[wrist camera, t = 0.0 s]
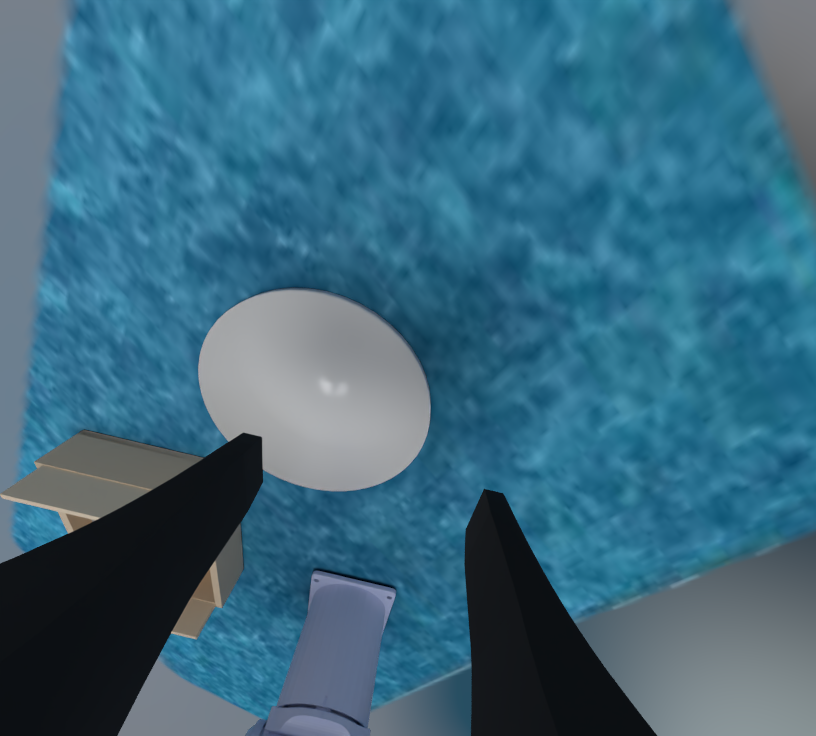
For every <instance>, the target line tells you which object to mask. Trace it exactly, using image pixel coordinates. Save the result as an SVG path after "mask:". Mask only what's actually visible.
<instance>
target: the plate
mask: <svg viewBox="0 0 816 736" xmlns="http://www.w3.org/2000/svg"><path fill="white" fill-rule="evenodd" d="M198 371H199V384H200V389H201V394H202V397H203V400H204V402H205V405H206V408H207V410H208V412H209V414H210V416H211V418H212V420H213V421H214V423H215V424H216V426H217V427H218V429H219V430H220V432H221V433H222V434H223V435H224V437H225V438H226V439H227V440H228V441H231V440H232V439H234V438H235V437H237V436H239V435H240V434H242V433H248V434H252V435H256V436H260V437H262V459H263V470H265V471H266V472H268V473H270V474H272V475H274V476H276V477H278V478H280V479H282V480H285V481H288V482H290V483H293V484H296V485H300V486H303V487H307V488H312V489H317V490H326V491H351V490H359V489H364V488H369V487H372V486H375V485H378V484H381V483H383V482H385V481H387V480H389V479H391V478H393V477H394V476H396V475H397V474H399V473H400V472H402V471H403V470H404V469H405V468H406V467H407V466H408V465H409V464H410V463H411V462H412V461H413V460H414V458H415V457H416V456H417V455H418V453H419V451H420V449H421V448H422V446H423V444H424V441H425V439H426V436H427V433H428V428H429V423H430V413H431V398H430V389H429V385H428V381H427V378H426V374H425V372H424V370H423V367H422V365H421V363H420V361H419V359H418V357H417V356H416V354H415V352H414V351H413V349H412V347H411V346H410V345H409V344H408V342H407V341H406V340H405V339H404V337H403V336H402V335H401V334H400V333H399V332H398V331H397V330H396V329H395V328H394V327H393V326H392V325H391V324H390V323H389V322H387V321H386V320H385V319H383V318H382V317H381V316H379V315H378V314H377V313H376V312H374V311H372V310H370V309H369V308H367V307H365V306H364V305H362V304H360V303H358V302H356V301H353V300H351V299H349V298H347V297H344V296H341V295H338V294H335V293H331V292H328V291H323V290H317V289H311V288H283V289H275V290H271V291H267V292H263V293H260V294H258V295H255V296H253V297H251V298H248V299H246V300H244V301H242V302H241V303H239V304H237V305H236V306H234V307H233V308H231V309H230V310H228V311H227V312H226V313H225V314H223V315H222V316H221V317H220V318H219V319H218V320H217V321H216V323H215V324H214V325H213V327H212V328H211V329H210V331H209V332H208V334H207V336H206V338H205V340H204V343H203V346H202V349H201V353H200V358H199V367H198Z"/></svg>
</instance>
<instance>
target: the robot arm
mask: <svg viewBox="0 0 816 736" xmlns="http://www.w3.org/2000/svg"><path fill="white" fill-rule="evenodd" d="M262 483H263V459H262V437H260V436H256V435H252V434H248V433H242V434H240V435H239V436H237V437H235V438H234V439H232V440H231V441H229V442H228V443H226V444H225V445H223V446H222V447H220V448H219V449H217V450H215V451H214V452H212V453H211V454H209V455H208V456H206V457H205V458H203V459H202V460H200V461H199V462H197V463H195V464H194V465H192V466H191V467H189V468H187V469H186V470H184V471H183V472H181V473H179V474H178V475H176V476H175V477H173V478H171V479H170V480H168V481H166V482H165V483H163V484H161V485H159V486H158V487H156V488H154V489H153V490H151V491H149V492H147V493H146V494H144V495H142V496H140V497H139V498H137V499H135V500H133V501H132V502H130V503H128V504H126V505H124V506H122V507H121V508H119V509H117V510H115V511H113V512H111V513H109V514H107V515H105V516H103V517H101V518H99V519H97V520H95V521H93V522H91V523H89V524H87V525H85V526H83V527H81V528H79V529H77V530H75V531H73V532H71V533H69V534H66V535H64V536H62V537H60V538H57V539H55V540H53V541H51V542H49V543H46V544H44V545H42V546H40V547H37V548H35V549H33V550H31V551H28V552H26V553H24V554H22V555H20V556H17V557H15V558H13V559H10V560H8V561H5V562H3V563H1V564H0V736H117V735H118V733H119V731H120V729H121V727H122V725H123V723H124V721H125V719H126V717H127V716H128V714H129V712H130V710H131V708H132V705H133V704H134V702H135V700H136V698H137V696H138V694H139V692H140V690H141V688H142V686H143V684H144V682H145V680H146V679H147V677H148V675H149V673H150V671H151V669H152V667H153V666H154V664H155V662H156V660H157V658H158V656H159V654H160V652H161V651H162V649H163V647H164V645H165V643H166V641H167V639H168V638H169V636H170V634H171V632H172V630H173V629H174V627H175V625H176V623H177V621H178V620H179V618H180V616H181V614H182V612H183V611H184V609H185V607H186V605H187V604H188V602H189V600H190V598H191V597H192V595H193V594H194V592H195V590H196V589H197V587H198V586H199V584H200V582H201V581H202V579H203V578H204V576H205V575H206V573H207V572H208V570H209V569H210V567H211V566H212V565H213V563H214V562H215V560H216V559H217V557H218V556H219V554H220V553H221V551H222V550H223V548H224V547H225V545H226V544H227V542H228V541H229V539H230V538H231V536H232V535H233V533H234V532H235V530H236V529H237V527H238V526H239V524H240V523H241V521H242V520H243V518H244V516H245V515H246V513H247V512H248V510H249V508H250V506H251V504H252V502H253V500H254V498H255V497H256V495H257V493H258V491H259V489H260V487H261V485H262ZM465 576H466V590H467V604H468V616H469V629H470V642H471V662H472V715H471V716H472V717H471V719H472V720H471V736H657V735H656V734H655V733H654V731H653V730H652V728H651V727H650V726H649V725H648V723H647V722H646V721H645V720H644V718H643V717H642V716H641V714H640V713H639V712H638V711H637V709H636V708H635V707H634V705H633V704H632V703H631V701H630V700H629V699H628V697H627V696H626V695H625V693H624V692H623V691H622V690H621V688H620V687H619V686H618V684H617V683H616V682H615V680H614V679H613V678H612V676H611V675H610V674H609V673H608V671H607V670H606V668H605V667H604V666H603V664H602V663H601V661H600V660H599V658H598V657H597V656H596V654H595V653H594V651H593V650H592V648H591V647H590V646H589V644H588V643H587V641H586V640H585V638H584V637H583V635H582V634H581V632H580V631H579V629H578V628H577V626H576V625H575V623H574V621H573V620H572V618H571V617H570V615H569V614H568V612H567V610H566V609H565V607H564V606H563V604H562V602H561V601H560V599H559V597H558V596H557V594H556V592H555V591H554V589H553V587H552V586H551V584H550V582H549V580H548V579H547V577H546V575H545V573H544V572H543V570H542V568H541V566H540V564H539V562H538V561H537V559H536V557H535V555H534V553H533V551H532V550H531V548H530V546H529V544H528V542H527V540H526V538H525V536H524V534H523V532H522V530H521V528H520V526H519V524H518V522H517V520H516V518H515V516H514V514H513V512H512V510H511V508H510V506H509V504H508V502H507V500H506V498H505V496H504V494H503V493H499V492H495V491H491V490H486V489H484V490H483V493H482V495H481V497H480V499H479V501H478V504H477V506H476V508H475V510H474V512H473V515H472V517H471V519H470V521H469V524H468V526H467V528H466V536H465ZM395 596H396V590H395V589H393V588H390V587H385V586H381V585H377V584H373V583H368V582H364V581H360V580H356V579H352V578H347V577H343V576H339V575H335V574H330V573H326V572H322V571H314V572H313V574H312V577H311V587H310V596H309V605H308V614H307V617H306V620H305V623H304V626H303V629H302V632H301V635H300V638H299V641H298V644H297V647H296V650H295V653H294V656H293V659H292V662H291V665H290V668H289V671H288V674H287V677H286V679H285V682H284V685H283V688H282V691H281V694H280V697H279V700H278V703H277V706H273V707H272V708H271V711H270V714H269V717H268V720H263V719H260V720H258V722H257V723H256V724H255V725H254V726H253V727H251V728H250V729H249V730H248V732H247V733H246V735H245V736H370V732H371V730H370V729H368V722H369V716H370V709H371V703H372V696H373V690H374V683H375V677H376V670H377V664H378V657H379V651H380V644H381V638H382V634H383V631H384V628H385V625H386V622H387V619H388V616H389V614H390V611H391V608H392V605H393V602H394V599H395Z"/></svg>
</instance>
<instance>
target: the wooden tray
mask: <svg viewBox="0 0 816 736" xmlns="http://www.w3.org/2000/svg"><path fill="white" fill-rule="evenodd" d="M202 459H203V458H202V457H198V456H194V455H189V454H185V453H181V452H177V451H172V450H168V449H164V448H160V447H155V446H151V445H147V444H143V443H138V442H134V441H130V440H126V439H121V438H117V437H113V436H109V435H104V434H100V433H96V432H92V431H87V430H82V431H81V432H79V433H78V434H76V435H75V436H73V437H72V438H70V439H69V440H67V441H65V442H64V443H62V444H61V445H59V446H58V447H56V448H55V449H53V450H52V451H50V452H49V453H47V454H45V455H44V456H42V457H41V458H39V459H38V460H36V461H35V462H34V463H35V465H36V467H37V469H36V470H35V471H33V472H32V473H30V474H29V475H27V476H26V477H25V478H23V479H22V480H20V481H19V482H17V483H16V484H14V485H13V486H11V487H10V488H8V489H7V490H5V491H4V492H2V493H1V494H0V495H1V497H2V498H3V499H7V500H11V501H15V502H20V503H24V504H28V505H32V506H37V507H41V508H45V509H49V510H54V511H58V513H59V515H60V517H61V519H62V521H63V523H64V526H65V528H66V530H67V532H68V534H69V533H71V532H73V531H75V530H77V529H79V528H81V527H83V526H85V525H87V524H89V523H91V522H92V520H97V519H99V518H101V517H103V516H105V515H107V514H109V513H111V512H113V511H115V510H117V509H119V508H121V507H122V506H124V505H126V504H128V503H130V502H132V501H133V500H135V499H137V498H139V497H140V496H142V495H144V494H146V493H147V492H149V491H151V490H153V489H154V488H156V487H158V486H159V485H161V484H163V483H165V482H166V481H168V480H170V479H171V478H173V477H175V476H176V475H178V474H179V473H181V472H183V471H184V470H186V469H187V468H189V467H191V466H192V465H194V464H195V463H197V462H199V461H200V460H202ZM91 519H92V520H91ZM243 569H244V567H243V552H242V538H241V524H239V526H238V527H237V529H236V530H235V532H234V533H233V535H232V536H231V538H230V539H229V541H228V542H227V544H226V545H225V547H224V548H223V550H222V551H221V553H220V554H219V556H218V557H217V559H216V560H215V562H214V563H213V565H212V566H211V567H210V569H209V570H208V572H207V573H206V575H205V576H204V578H203V579H202V581H201V582H200V584H199V586H198V587H197V589H196V590H195V592H194V594H193V595H192V597H191V598H190V600H189V602H188V604H187V605H186V607H185V609H184V611H183V612H182V614H181V616H180V618H179V620H178V621H177V623H176V625H175V627H174V629H173V630H172V632H171V633H172V634H176V635H180V636H185V637H189V638H193V639H197V638H198V636H199V634H200V633H201V631H202V629H203V627H204V625H205V624H206V622H207V620H208V618H209V617H210V615H211V613H212V611H213V610H214V608H215V607H220V608H223V606H224V604H225V602H226V600H227V598H228V597H229V595H230V593H231V591H232V589H233V587H234V586H235V584H236V582H237V580H238V578H239V576H240V575H241V573H242V571H243Z"/></svg>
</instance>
